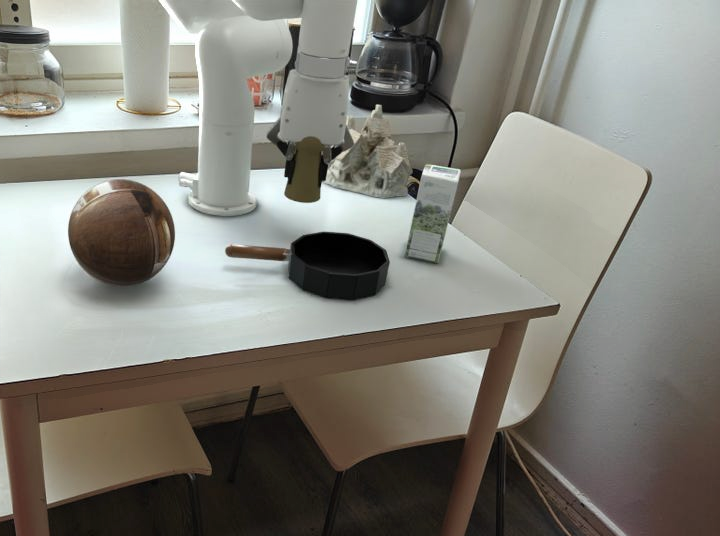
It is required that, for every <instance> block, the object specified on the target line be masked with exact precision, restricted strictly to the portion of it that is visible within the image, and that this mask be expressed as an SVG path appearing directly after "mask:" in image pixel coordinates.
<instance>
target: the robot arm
mask: <svg viewBox="0 0 720 536" xmlns="http://www.w3.org/2000/svg"><path fill="white" fill-rule="evenodd" d="M158 1H159V2H160V4H161V5H162V6H163V8H164V9H165V10H166V11H167V13H168V14H169V16H171V18H172V19H173V20H174V21H175V23H176V24H177V25H178V26H179V27H180V29H182V30H183V31H184V32H186V33H189V34H193V35H194V34H195V35H197V37H196V40H195V47H194V49H195V61H196V66H197V67H196V68H197V73H198V84H199V121H198V123H199V124H198V125H199V128H198V155H197V156H198V157H197V158H198V159H197V173H195V174H191V173H188V172H184V171H180V173H179V175H178V181H179V182H178V185H179V187H182V188H189V189H190V190H191V192H190V193H189V194H188V204H189V205H190V206H191V207H192V209H195V210H196V211H198V212H201V213H204V214H208V215H213V216H219V217H234V216H235V217H236V216H241V215H246V214H248V213H251V212H252V211H253V210H255V208H256V207H257V201H258V200H257V197H256V196H255V195H254V194H253V193H252V192H250V182H251V181H250V180H251V167H252V166H251V165H252V153H253V139H254V126H255V115H256V113H255V111H256V110H255V108H256V107H255V101H254V96H253V94H252V91H251V89H250V86H249V84H248V83H249V82H248V79H251V78H256V77H261V76H266V75H271V74H275V73H277V72H279V71H281V70H283V69H285V67H286V66H287V65H288V64H289V62H290V60H291V58H292V54H293V49H294V47H293V46H294V45H293V39H292V34H291V31H290V28H289V27H288V25H287V23H286V22H285V20H287V19H288V20H290V19H291V20H292V19H300V28H299V36H298V43H297V51H296V58H295V59H296V60H295V67H294V68H292V69H290V70H289V72H288V75H287V79H286V82H285V87H284V92H283V97H282V103H281V109H280V115H279V117H278V118H277V119H276V121H275V122H274V123H273V124H272V126H271V127H269V129H268V130H267V132H266V139H267V140H268V141H269V142H271V143H272V144H273V145H274V146H276V147H277V148H278V150H279V151H280V152H281V154H282V155H283V156H284V157H285V165H284V173H283V177H284V178H287V181H288V185H291V183H292V178H293V175H294V170H295V160H294V158H295V151H296V147H297V142H299V141H301V140H302V139H303V138H305V137H309V136H312V137H316V138H318V139H319V140H320V141H321V143H322V144H324V148H323V151H322V154H321V163H320V167H319V174H318V187H319V188H321V189H322V184H323V181H326V176H327V170H328V164H330V163H331V161H332V160H333V159H334V158H336V157H337V156H338V155H340V154H341V153H342V152H344V151H346V150H348V149H350V148H352V147H354V145H355V144H354V140H353V138H352V136H351V134H350V132H349V129H348V127H347V125H346V121H347V116H348V112H349V111H348V110H349V95H350V77H349V75H347V73H349V72H350V71H357V67H358V60H354V59H352V58H351V57H350V56H349V54H350V48H351V42H352V35H353V30H354V24H355V17H356V13H357V12H356V11H357V5H358V0H158ZM278 134H279V135H278ZM343 139H344V140H343ZM333 145H334V146H333ZM332 146H333V147H332ZM331 147H332V148H331Z"/></svg>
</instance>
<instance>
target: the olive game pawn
mask: <svg viewBox="0 0 720 536" xmlns="http://www.w3.org/2000/svg"><path fill="white" fill-rule="evenodd" d="M323 148H324V144H322V143H321V141H320V140H319V139H318V138H316V137H312V136H309V137H305V138H303V139H302V140H301V141H299V142H297V147H296V150H295V153H294V154H295V158H294V160H295V170H294V175H293V178H292V183H291V185H288V180H287V181H286V185H285V189H284V196H285V198H287V199H288V200H290V201H293V202H295V203H296V202H297V203H301V204H312V203H316V202H319V201H320V200H321V192H322V191H321V189H322V187H321V188H319V187H318V174H319V167H320V163H321V155H322V153H323Z"/></svg>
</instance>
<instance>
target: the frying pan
mask: <svg viewBox="0 0 720 536" xmlns="http://www.w3.org/2000/svg"><path fill="white" fill-rule="evenodd" d="M289 247H290V248H285V247H274V246H260V245H248V244H247V245H246V244H234V243H233V244H232V243H231V244H228V245H227V246H225V249H224V253H225V255H226V256H227V257H228V258H231V259H232V258H233V259H245V260H246V259H248V260H261V261H274V262H288V263H287V265H288V266H287V271H288V272H287V273H288V279H289V280H290V281H291V282H292V283H293V284H294V285H296V286H297V287H298V288H299V289H300V290H302V291H304V292H305V293H310V294H312V295H316V296H318V297H322V298H324V299H331V300H343V301H356V300H362V299H365V298H370V297H375V296H376V295H377V294H378V293H379V292H380V291H381V290H382V289H383V288H384V287H385V286H386V283H387V278H388V273H389V268H390V264H391V261H390V258H389V254H388V252H387V250H386V249H385V248H383V246H380V244H378V243H376V242H375V241H373V240H371V239H369V238H366V237H362V236H358V235H355V234H353V233H350V232H349V233H348V232H339V231H338V232H335V231H318V232H317V231H316V232H312V233H306V234H302V235H301V236H299V237H297V238H296V239H295V240H293V241H292V242H291V243H290V246H289Z"/></svg>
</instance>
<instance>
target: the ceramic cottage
mask: <svg viewBox="0 0 720 536" xmlns="http://www.w3.org/2000/svg"><path fill="white" fill-rule="evenodd" d="M382 106H383V105H382V104H375V109H373V110H372V112H371V114H370V117H366V120H365V122H364V123H363V125H362V128H361V130H359V131H360V132H358V131H356V130H355V127H356V124H355V123H356V121H355V120H356V118H355V116H353V115H347V121H346V125H347V127H348V129H349V132H350V134H351V136H352V138H353V140H354V144H355V145H354V147H352V148H350V149H348V150H346V151H344V152H342V153H341V154H340V155H338V156H337V157H336V158H334V159H333V160H332V161H331V163H330V164H328V170H327V176H326V181H322V183H325V185H328V186H329V185H330V186H331V187H333V188H336V189H341V190H345V191H349V192H354V193H359V194H363V195H366V196H369V197H375V198H382V199H388V198H394V197H406V196H407V195H408V194H409V189H408V182H409V179H410V176H411V175H412V174H413V168H412V167H411V163H410V161H409V156H408V150H407V147H406V146H407V145H406V143H405V142H403V141H401V142H399V143H398V144H397V143H396V141H394V140H392V139H391V137H392V134H391V127H390V123H389V118H388V117H383V107H382ZM343 140H344V139H343ZM333 146H334V145H331V148H332V147H333Z"/></svg>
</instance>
